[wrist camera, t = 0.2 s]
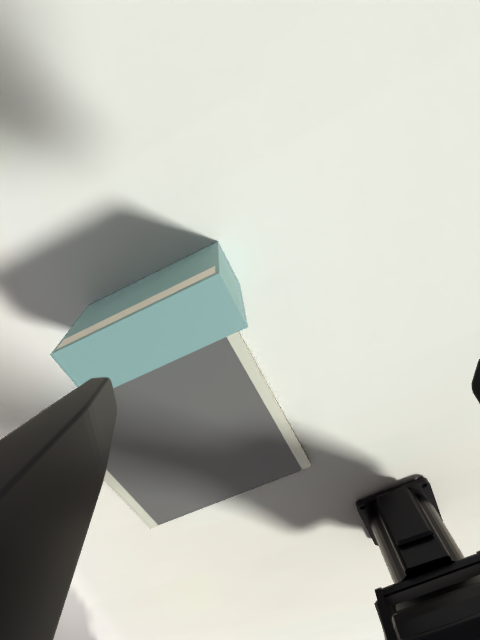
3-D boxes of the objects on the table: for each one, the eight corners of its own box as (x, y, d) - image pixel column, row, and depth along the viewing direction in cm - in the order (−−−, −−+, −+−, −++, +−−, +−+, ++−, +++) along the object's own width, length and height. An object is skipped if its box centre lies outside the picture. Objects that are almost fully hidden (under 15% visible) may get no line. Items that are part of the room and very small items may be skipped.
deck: (240, 283, 23) (247, 327, 17) (116, 342, 24) (88, 399, 18) (217, 240, 21) (219, 272, 16) (88, 304, 23) (49, 354, 17)
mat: (310, 462, 30) (311, 466, 29) (151, 523, 32) (150, 528, 31) (235, 326, 24) (235, 329, 23) (46, 412, 26) (43, 416, 25)
